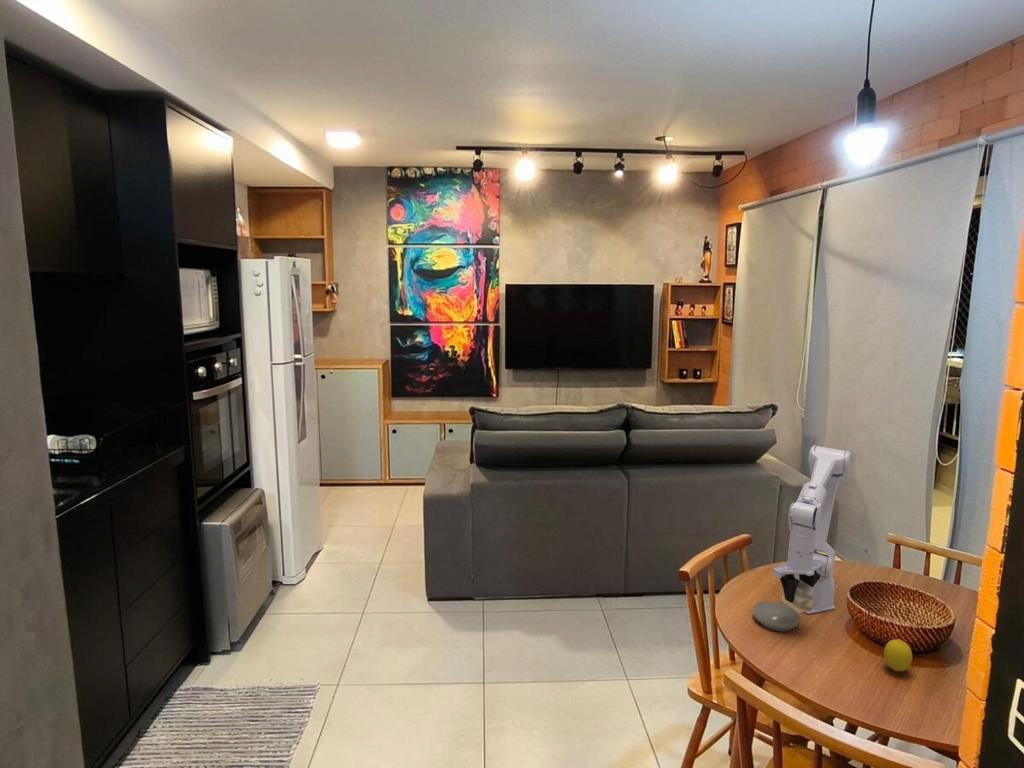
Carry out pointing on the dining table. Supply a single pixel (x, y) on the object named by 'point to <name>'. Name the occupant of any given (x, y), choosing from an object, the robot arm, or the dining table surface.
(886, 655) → the lemon
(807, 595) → the block
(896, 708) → the dining table surface
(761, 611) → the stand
